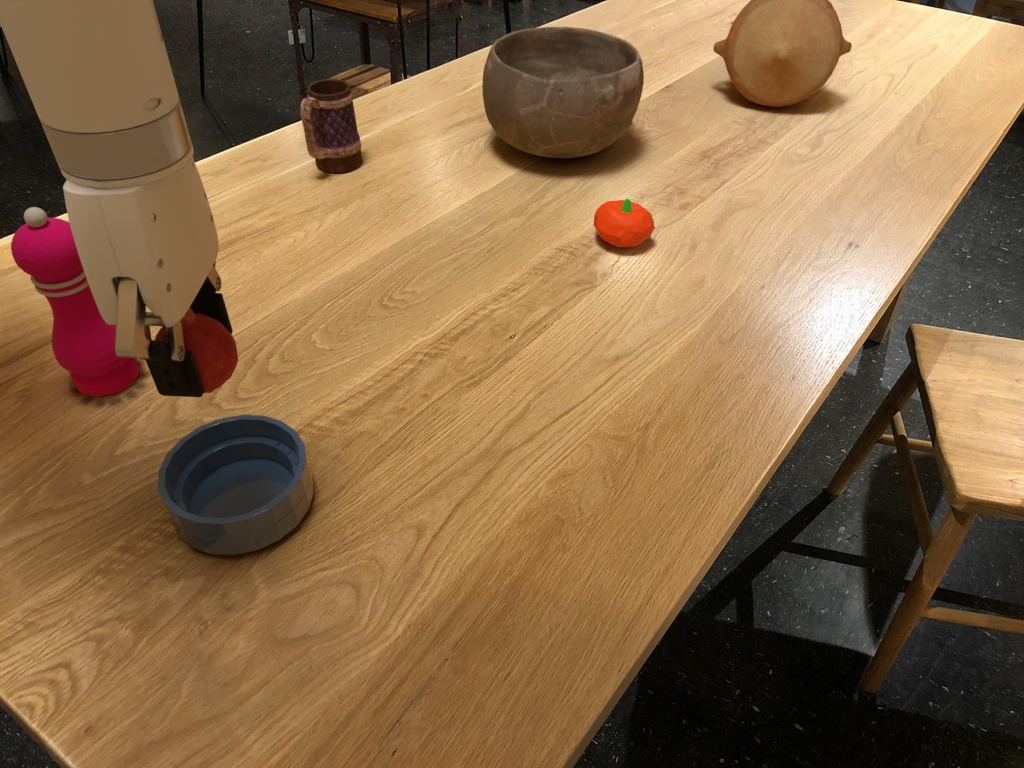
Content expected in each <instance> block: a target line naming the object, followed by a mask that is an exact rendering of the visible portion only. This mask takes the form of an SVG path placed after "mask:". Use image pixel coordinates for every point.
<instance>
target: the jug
mask: <svg viewBox="0 0 1024 768" xmlns="http://www.w3.org/2000/svg"><path fill="white" fill-rule="evenodd" d="M842 28H843V27H842V23H841V21H840V19H839V15H838V12H837V11H836V9H835V8H834V6H833V4H832V2H831V1H829V0H749V2H748V3H746V4H745V5H744V7H742V9H741V10H740V12H739V13H738V14H737V15H736V17H735V19H734V21H733V22H732V24H731V26H730V28H729V30H728V34H727V36H726V37H725V38H724V39H722V40H719V41H715V43H714V44H713V49H712V50H713V52H714V53H715V54H717V55H718V56H720V57H721V58H722V60H723V61H724V65H725V68H726V71H727V74H728V76H729V79H730V80H731V82H732V84H733V86H734V87H735V89H736V91H738V93H740V94H741V95H742V96H743V97H744V98H745V99H746V100H748V101H750V102H752V103H755V104H757V105H761V106H765V107H766V106H767V107H774V108H775V107H776V108H781V107H787V106H793V105H796V104H799V103H800V102H802V101H804V100H807V99H808V98H809V97H812V96H813V95H814V94H815V93H817V92H818V91H819V90H820V89H821V88H822V87H824V85H826V83H827V82H828V80H829V79H830V78H831V76H832V75H833V73H834V71H835V69H836V67H837V65H838V63H839V60H840V58H841V57H842V56H844V55H845V54H848V53H850V52H851V50H852V47H853V46H852V42H850V41H848V40H846V38H844V37H845V36H844V35H843V29H842Z"/></svg>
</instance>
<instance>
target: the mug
mask: <svg viewBox="0 0 1024 768" xmlns="http://www.w3.org/2000/svg"><path fill="white" fill-rule="evenodd" d="M306 96H307V97H304V98H303V99H302V100H301V103H300V119H301V124H302V127H303V132H304V138H305V139H304V140H305V143H306V149H307V153H308V155H309V156H310V157H311V158H313V159H315V160H314V161H315V165H316V167H318V168H319V169H321V170H322V171H323V172H327V173H332V174H341V173H347V172H350V171H354V170H355V169H357V168H358V167H359V166H360V165H361V164H362V162H363V154H362V141H361V136H360V134H359V131H358V124H357V118H356V111H355V105H354V96H353V91H352V90H351V86H350V83H348V82H347V81H345V80H342V79H336V78H326V79H325V78H324V79H320V80H315V81H313V82H311V83H310V84H309V85H308V86H307V95H306Z"/></svg>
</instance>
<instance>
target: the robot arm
mask: <svg viewBox="0 0 1024 768" xmlns="http://www.w3.org/2000/svg"><path fill="white" fill-rule="evenodd" d="M156 11H157V10H156V8H155V4H154V0H0V28H1V29H2V32H3V34H4V36H5V39H6V41H7V44H8V46H9V49H10V51H11V53H12V56H13V59H14V60H15V63H16V66H17V68H18V70H19V73H20V76H21V78H22V80H23V83H24V85H25V88H26V90H27V92H28V95H29V98H30V100H31V102H32V104H33V107H34V109H35V112H36V114H37V117H38V119H39V122H40V124H41V126H42V129H43V132H44V135H45V136H46V138H47V142H48V144H49V146H50V149H51V151H52V154H53V156H54V158H55V160H56V163H57V165H58V167H59V170H60V172H61V174H62V176H63V177H64V178H65V182H64V184H63V185H62V189H63V196H64V203H65V209H66V212H67V217H68V222H69V223H70V227H71V230H72V234H73V238H74V241H75V245H76V248H77V251H78V254H79V257H80V260H81V263H82V266H83V269H84V272H85V275H86V278H87V281H88V284H89V286H90V289H91V292H92V294H93V297H94V300H95V302H96V305H97V307H98V309H99V312H100V314H101V316H102V318H103V319H104V321H105V322H106V323H107V324H108V325H116V339H115V352H116V355H117V356H118V357H128V358H136V360H140V361H145V364H146V365H147V368H148V370H149V373H150V375H151V378H152V380H153V383H154V385H155V388H156V390H157V392H158V394H160V395H161V396H164V397H181V398H182V397H185V398H202V397H203V395H204V394H205V393H204V391H205V388H204V385H203V382H202V379H201V376H200V373H199V370H198V367H197V365H196V362H195V359H194V356H193V353H192V351H189V350H185V346H184V338H183V330H182V323H181V319H182V318H183V317H184V315H185V314H186V312H187V311H188V309H189V307H190V308H191V309H192V310H193V312H194V313H199V314H203V315H206V316H208V317H211V318H213V319H216V320H217V321H219V322H220V323H221V324H222V325H223V326H224V327H225V328H226V329H227V330H228V331H229V332H230V333H231V334H232V335H233V332H234V330H233V327H232V323H231V320H230V316H229V313H228V309H227V305H226V302H225V298H224V295H223V292H220V291H221V289H222V284H223V283H222V278H221V276H220V274H219V273H218V270H217V269H216V263H217V261H216V260H217V259H218V254H219V249H220V242H219V237H218V231H217V228H216V223H215V218H214V215H213V211H212V209H211V206H210V205H211V204H210V201H209V199H208V195H207V193H206V189H205V186H204V184H203V181H202V178H201V176H200V172H199V170H198V167H197V164H196V162H195V159H194V153H195V150H194V146H193V142H192V138H191V135H190V132H189V127H188V123H187V121H186V117H185V113H184V109H183V106H182V102H181V98H180V96H179V91H178V87H177V84H176V80H175V77H174V73H173V70H172V66H171V61H170V58H169V54H168V51H167V47H166V44H165V41H164V40H165V39H164V36H163V33H162V29H161V26H160V22H159V18H158V14H157V12H156ZM147 308H148V309H149V310H150V311H147ZM162 326H166V330H167V337H168V342H163V341H155V339H154V340H153V338H152V333H151V327H162ZM203 393H204V394H203Z"/></svg>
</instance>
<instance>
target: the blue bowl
mask: <svg viewBox="0 0 1024 768" xmlns="http://www.w3.org/2000/svg"><path fill="white" fill-rule="evenodd" d="M306 448H307V447H306V445H305V442H304V441H303V439H302V437H301V436H300V435H299V433H298V432H297V431H296V429H294V428H293V427H291V426H290V425H288V424H287V423H285V422H284V421H282V420H279V419H277V418H274V417H271V416H266V415H259V414H238V415H232V416H226V417H222V418H218V419H215V420H213V421H211V422H208V423H205V424H203V425H200V426H197V428H195V429H194V430H192V431H191V432H189V433H187V434H186V435H185V436H183V437H181V439H179V440H178V441H177V442H176V444H175V445H174V446H173V447H172V448H171V449H170V450H169V451H168V452H167V453H166V455H165V457H164V459H163V460H162V463H161V465H160V466H159V467H160V468H159V469H158V474H157V491H158V493H159V497H160V498H161V501H162V503H163V505H164V507H165V509H166V511H167V514H168V516H169V519H170V520H171V522H172V524H173V527H174V529H175V531H176V534H177V535H178V536H179V538H181V539H182V540H183V541H184V542H185V543H187V544H188V545H189V546H190V547H192V548H194V549H196V550H199V551H201V552H203V553H204V552H205V553H208V554H210V555H222V556H237V555H241V554H246V553H251V552H256V551H259V550H262V549H264V548H266V547H268V546H270V545H272V544H274V543H276V542H278V541H281V540H282V539H283V538H284V537H285V536H287V535H288V534H289V533H290V532H292V531H293V530H294V529H295V528H296V527H297V526H298V525H300V523H301V521H302V520H303V518H304V517H305V516H306V514H307V513H308V511H309V509H310V507H311V503H312V501H313V500H312V499H313V496H314V492H315V489H314V481H313V474H312V469H311V465H310V461H309V458H308V453H307V449H306Z"/></svg>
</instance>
